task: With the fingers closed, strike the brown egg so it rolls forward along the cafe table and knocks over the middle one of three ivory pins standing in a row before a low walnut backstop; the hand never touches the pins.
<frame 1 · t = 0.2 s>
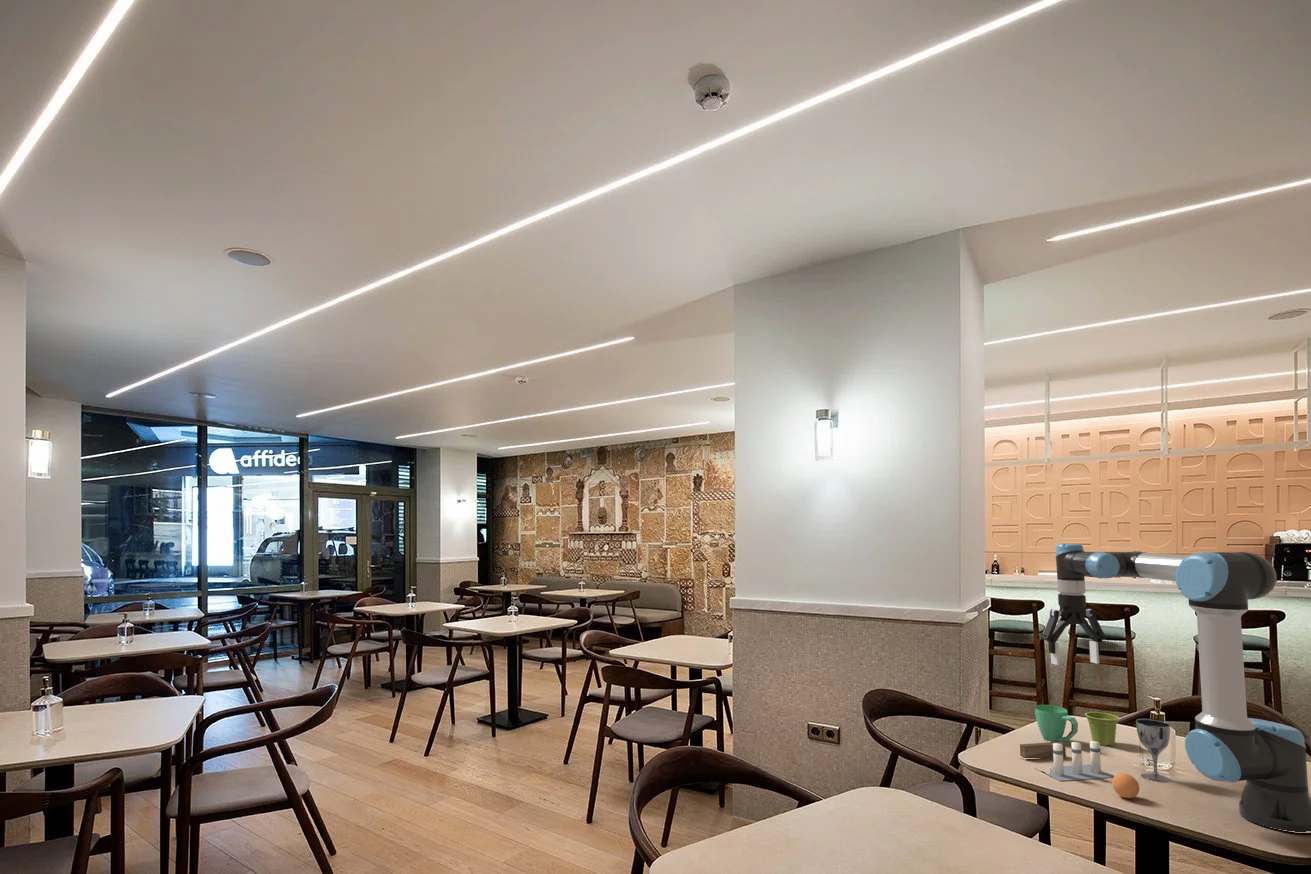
hand: (1075, 663, 225), 28 cm above the table, tool pointing down, fingers open, 13 cm apart
back wall: (1043, 757, 221), on the table
pin deck: (1075, 773, 208), on the table
wine glass: (1156, 778, 205), on the table
pin right: (1096, 773, 208), on the table
brown egg: (1125, 785, 191), on the table
pin left: (1059, 775, 206), on the table
mug: (1058, 743, 236), on the table
pin middle: (1077, 774, 207), on the table
plant pot: (1103, 744, 235), on the table
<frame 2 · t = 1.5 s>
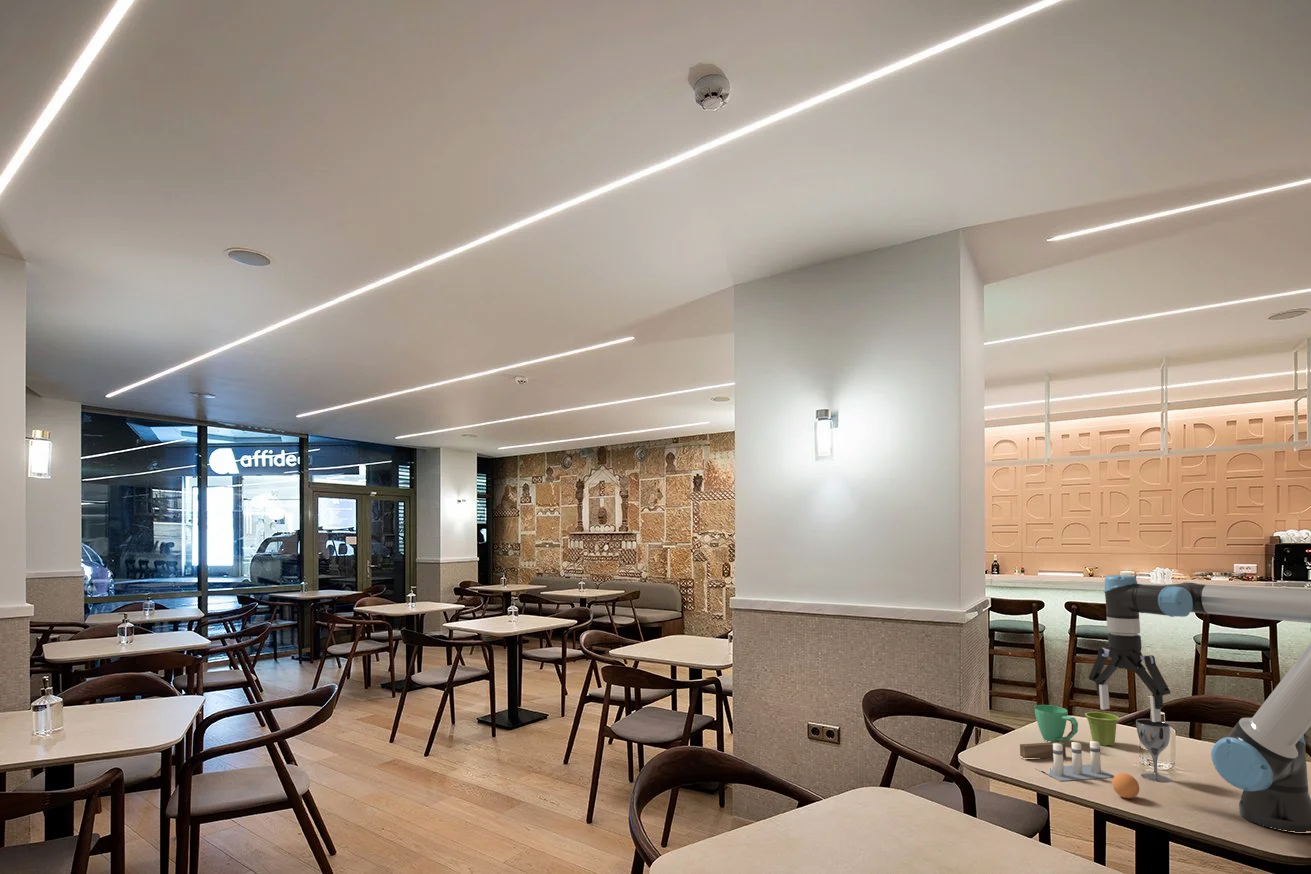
hand: (1130, 715, 194), 21 cm above the table, tool pointing down, fingers open, 13 cm apart
nothing on the table moved.
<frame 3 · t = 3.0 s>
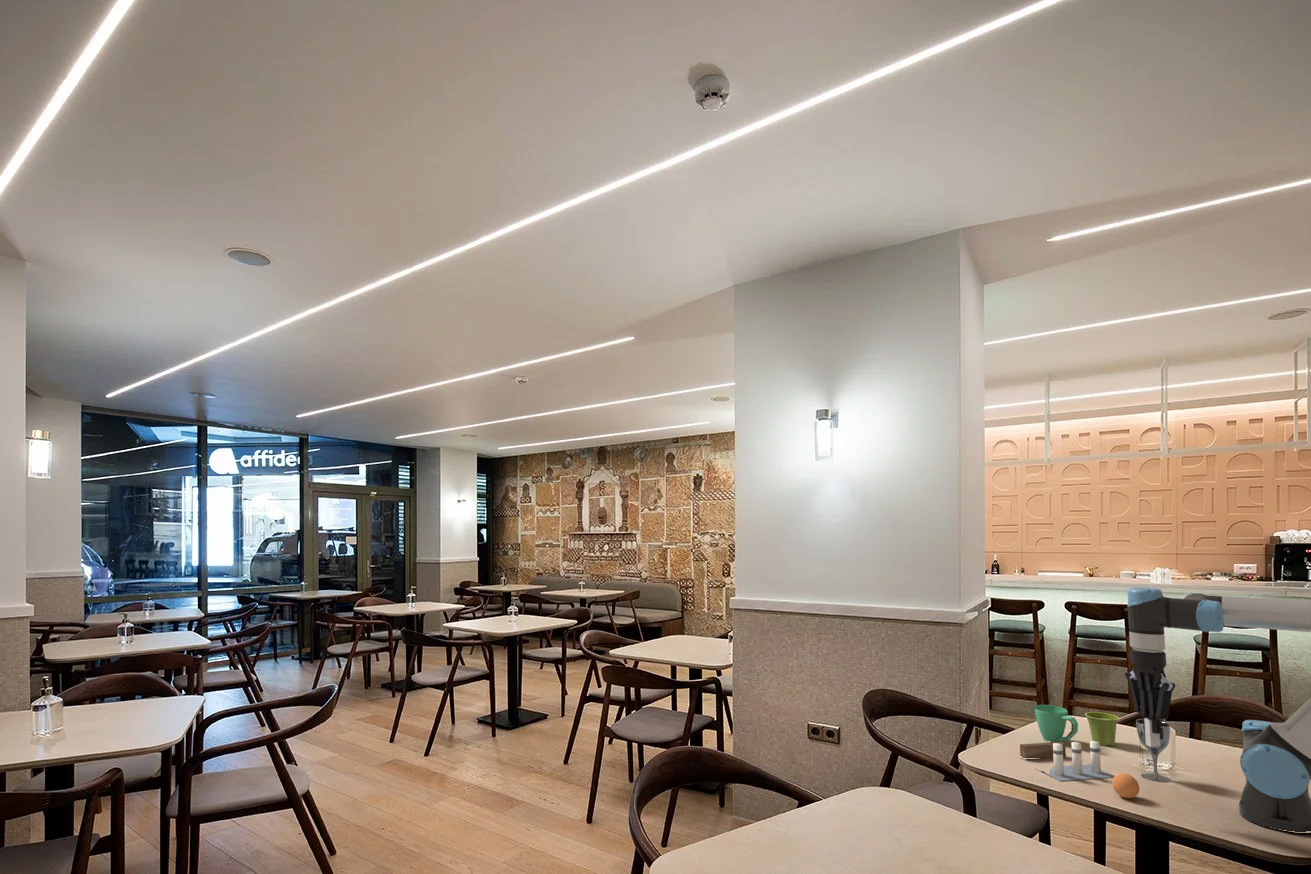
hand: (1152, 745, 183), 16 cm above the table, tool pointing down, fingers closed
nothing on the table moved.
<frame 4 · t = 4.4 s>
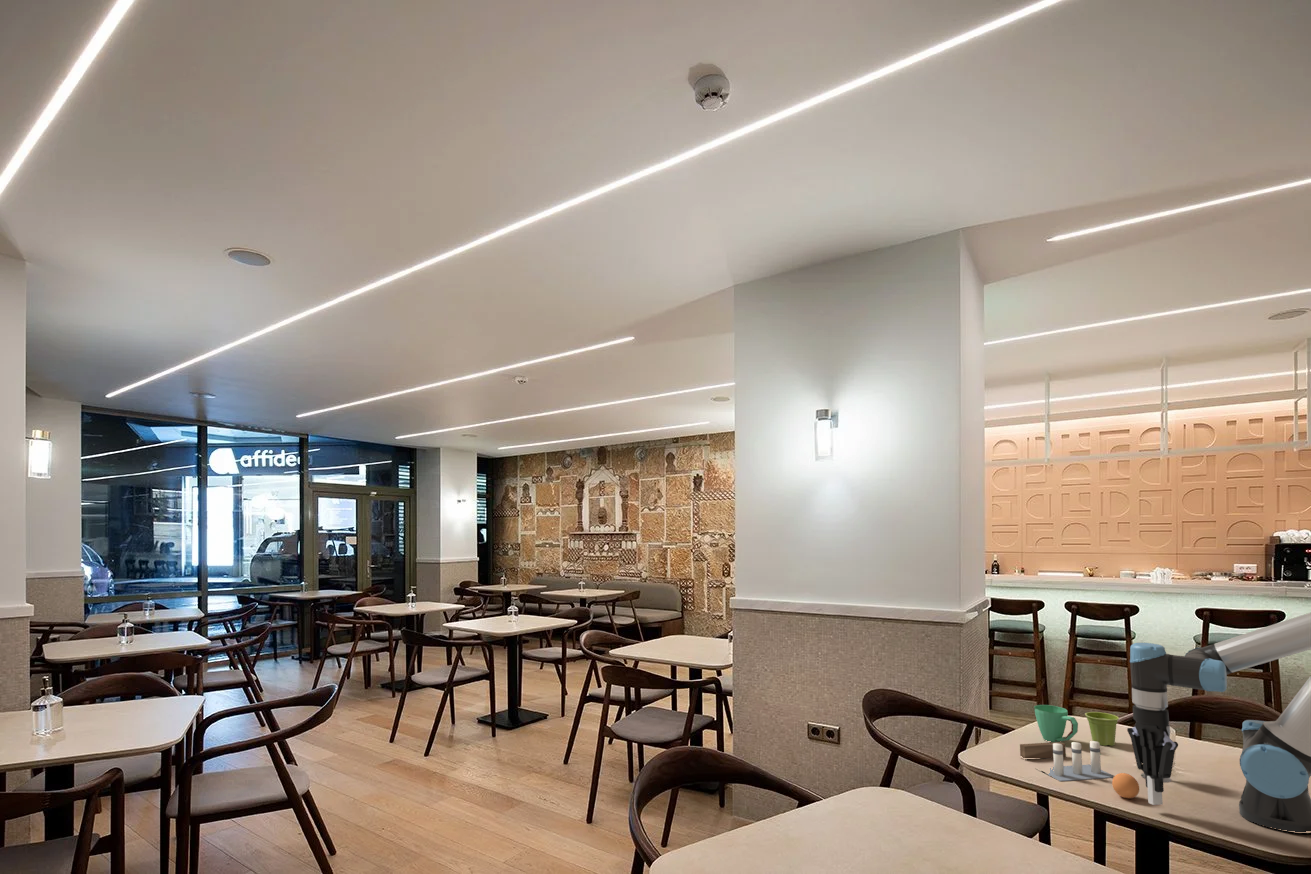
hand: (1155, 803, 182), 2 cm above the table, tool pointing down, fingers closed
nothing on the table moved.
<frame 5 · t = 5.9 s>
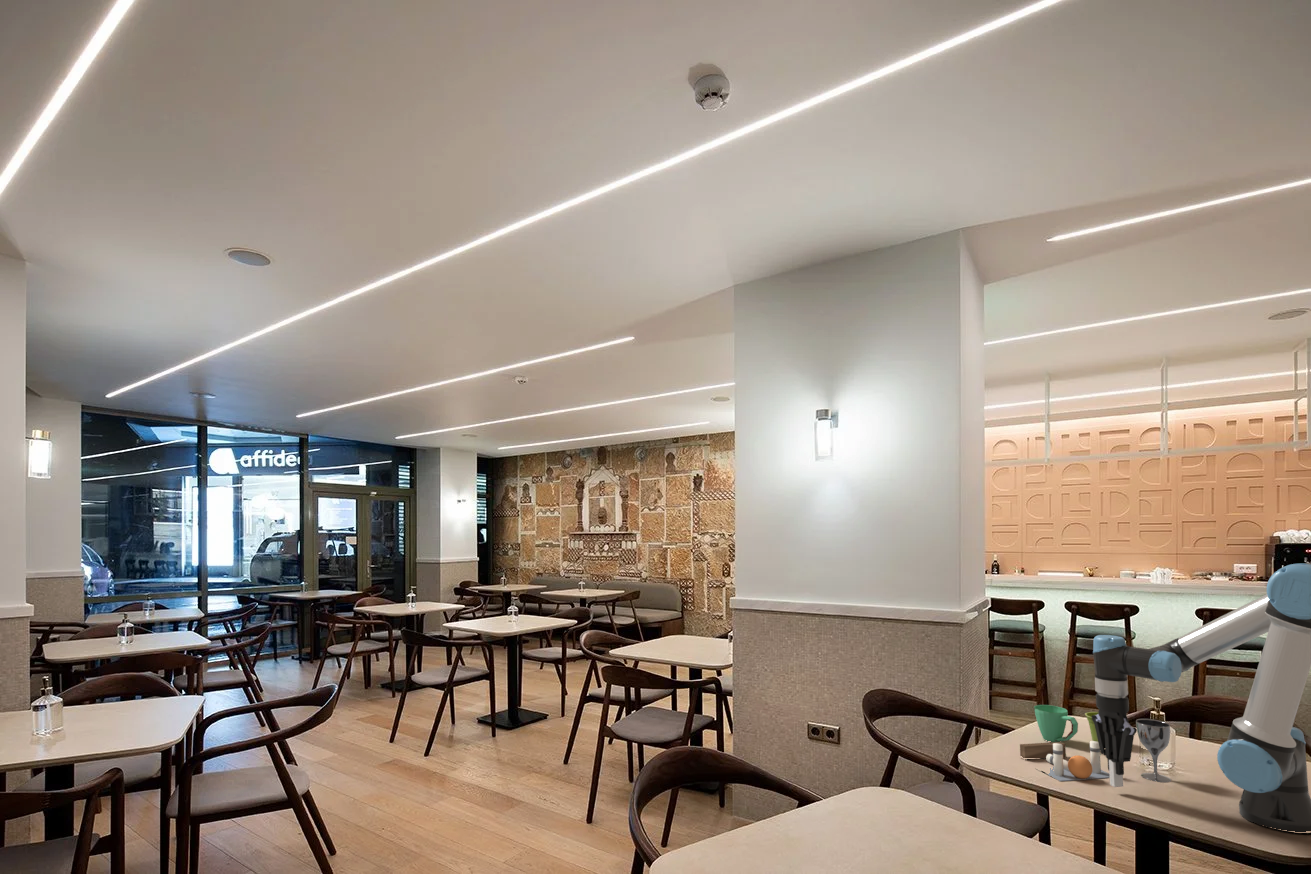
hand: (1116, 785, 194), 2 cm above the table, tool pointing down, fingers closed
brown egg: (1080, 767, 205), on the table
pin middle: (1072, 767, 209), point 1 cm above the table, tilted 90°
everything else where it was.
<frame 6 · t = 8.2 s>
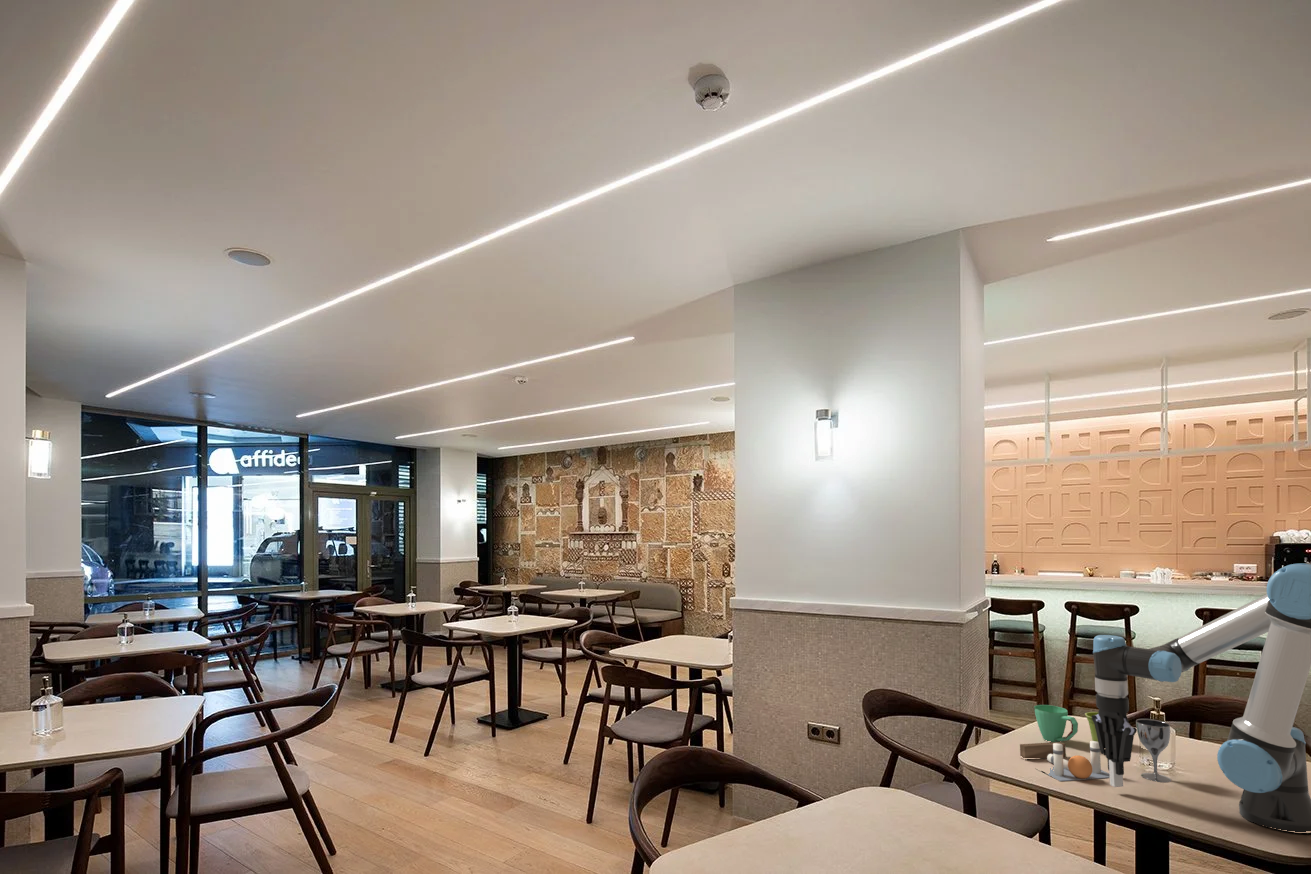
hand: (1116, 785, 194), 2 cm above the table, tool pointing down, fingers closed
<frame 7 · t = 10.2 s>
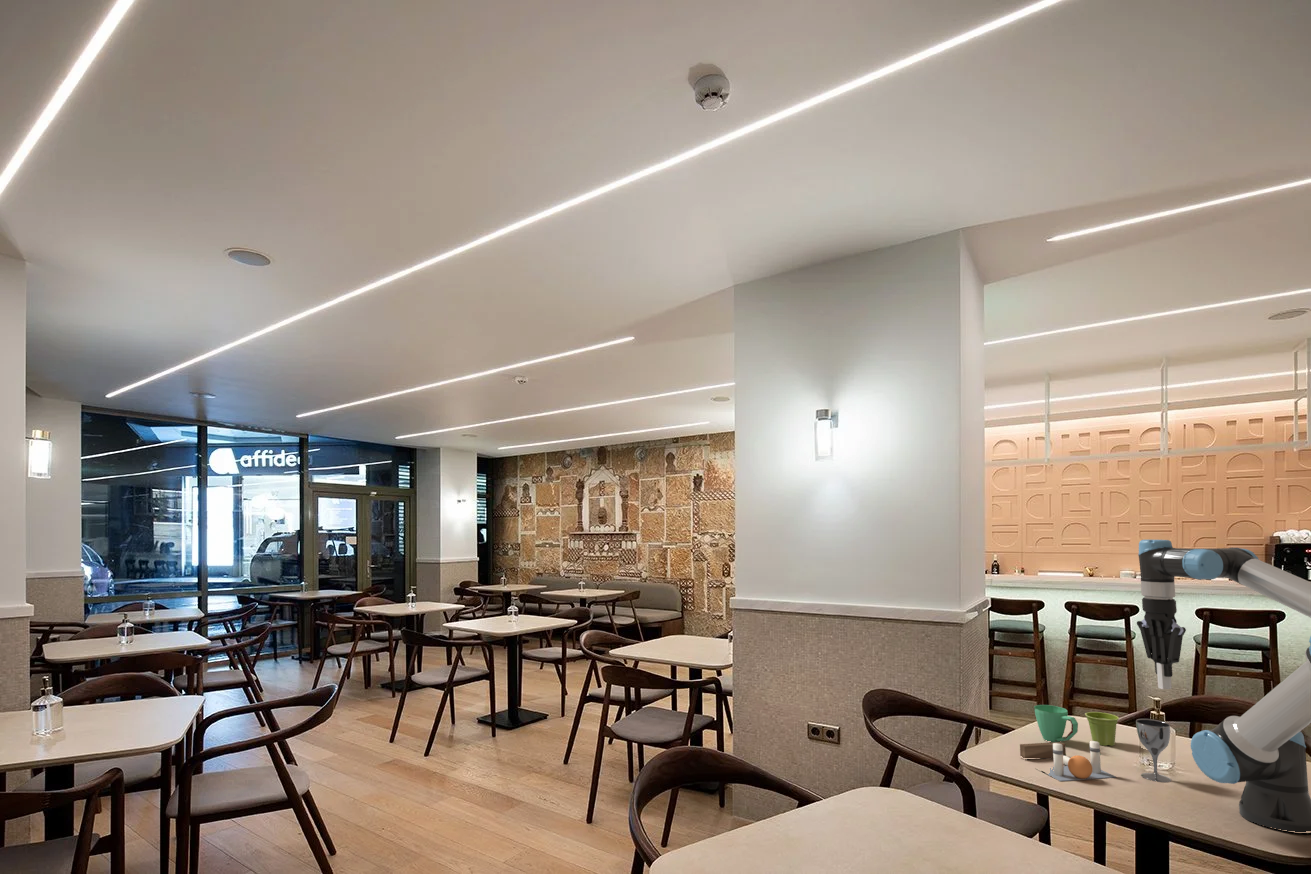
hand: (1164, 688, 192), 28 cm above the table, tool pointing down, fingers closed
pin middle: (1081, 767, 210), point 1 cm above the table, tilted 90°
everything else where it was.
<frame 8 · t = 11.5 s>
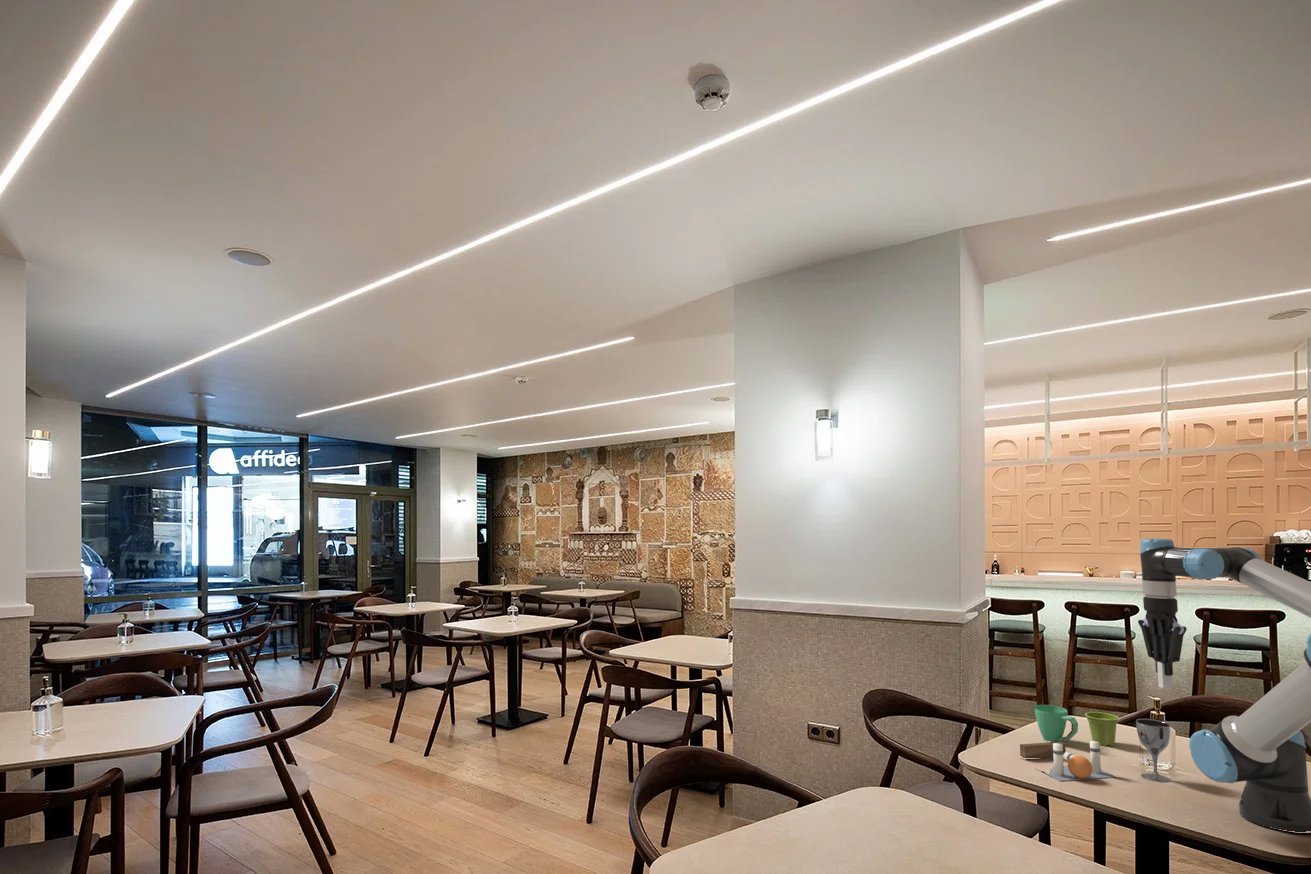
hand: (1165, 687, 193), 28 cm above the table, tool pointing down, fingers closed
pin middle: (1089, 766, 210), point 1 cm above the table, tilted 90°
everything else where it was.
at the end: pin middle tilted 90°; pin middle never touched the robot; brown egg moved 14.3 cm from its start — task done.
